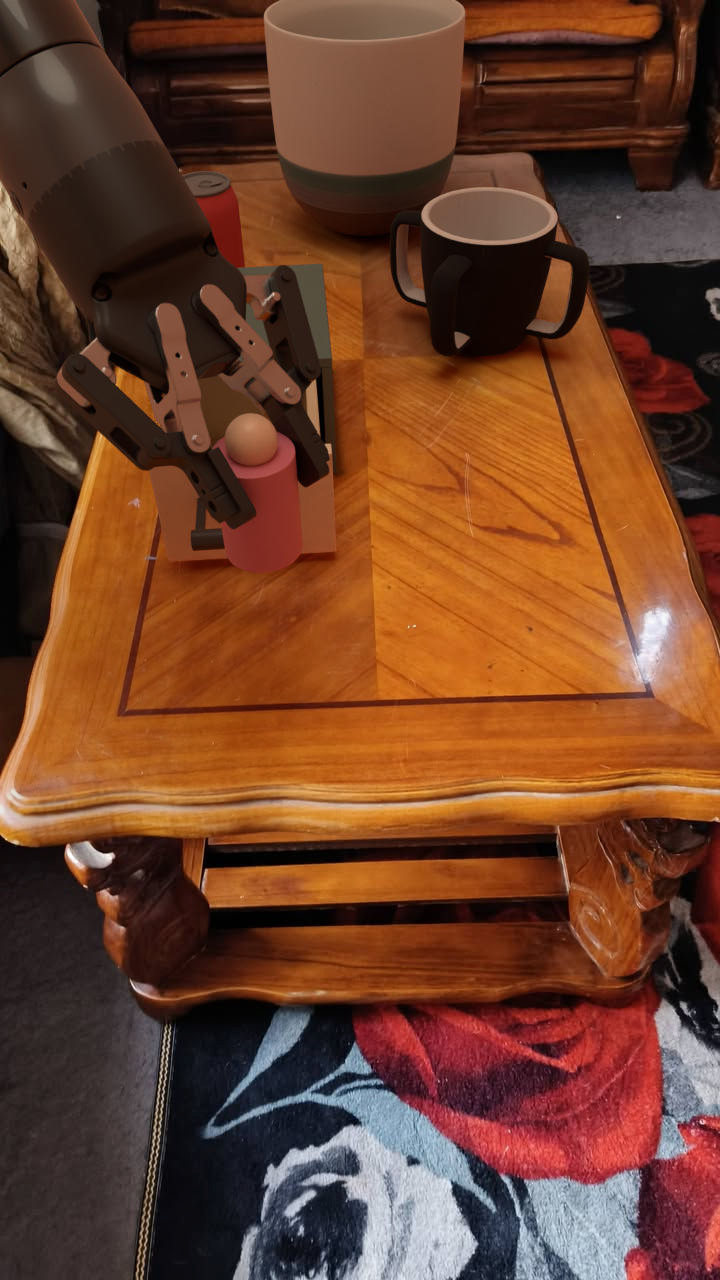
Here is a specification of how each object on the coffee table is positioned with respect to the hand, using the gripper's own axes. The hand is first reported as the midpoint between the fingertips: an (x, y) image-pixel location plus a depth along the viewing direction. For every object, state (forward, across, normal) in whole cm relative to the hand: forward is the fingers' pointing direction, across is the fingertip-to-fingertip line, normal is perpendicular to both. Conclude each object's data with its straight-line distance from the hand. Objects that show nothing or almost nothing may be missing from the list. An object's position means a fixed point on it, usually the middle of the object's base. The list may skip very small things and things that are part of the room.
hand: (281, 499), depth 48 cm
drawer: (0, +11, +24) cm, 27 cm away
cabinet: (-7, +20, +32) cm, 39 cm away
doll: (+2, 0, +4) cm, 5 cm away
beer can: (-21, +31, +47) cm, 60 cm away
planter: (-23, +55, +48) cm, 77 cm away
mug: (-4, +45, +30) cm, 54 cm away
